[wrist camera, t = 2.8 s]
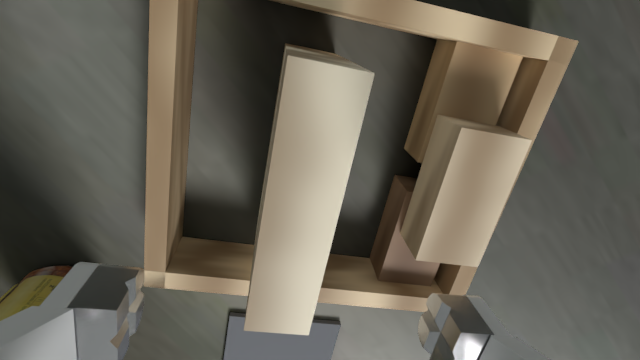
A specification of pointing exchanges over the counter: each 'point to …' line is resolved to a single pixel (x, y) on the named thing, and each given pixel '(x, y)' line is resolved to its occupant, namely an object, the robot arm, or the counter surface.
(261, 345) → the felt pad
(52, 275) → the sauce bottle
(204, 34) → the counter surface
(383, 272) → the offcut walnut
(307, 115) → the pale wooden block
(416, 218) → the offcut beech
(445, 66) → the offcut oak
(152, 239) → the wooden tray
